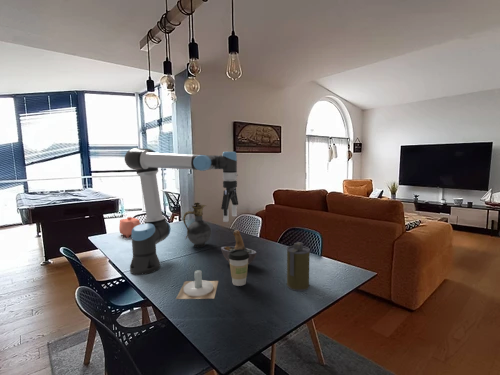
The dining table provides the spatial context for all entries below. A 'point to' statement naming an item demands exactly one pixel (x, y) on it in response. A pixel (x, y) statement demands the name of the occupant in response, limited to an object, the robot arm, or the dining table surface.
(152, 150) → the robot arm
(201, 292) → the lid
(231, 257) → the coffee cup
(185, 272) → the dining table surface
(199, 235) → the pitcher
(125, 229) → the teapot
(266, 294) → the dining table surface
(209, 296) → the mat
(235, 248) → the planter
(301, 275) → the canister
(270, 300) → the dining table surface
